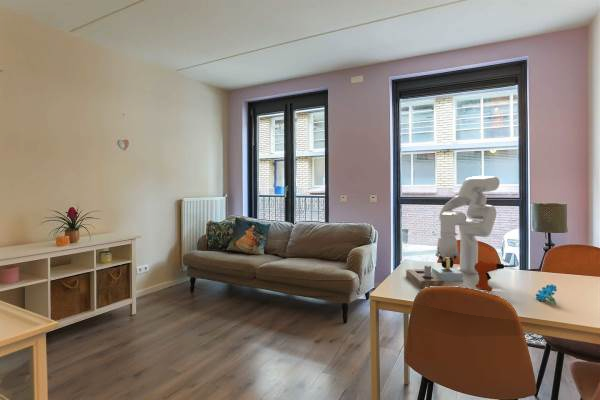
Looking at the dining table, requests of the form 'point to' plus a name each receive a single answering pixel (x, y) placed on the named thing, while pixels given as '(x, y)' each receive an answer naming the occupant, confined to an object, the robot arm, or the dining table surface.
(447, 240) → the robot arm
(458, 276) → the socket block
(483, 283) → the toy drill
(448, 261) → the gold drill bit
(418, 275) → the bit rack
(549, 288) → the blue flower bunch
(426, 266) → the steel drill bit
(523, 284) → the dining table surface
